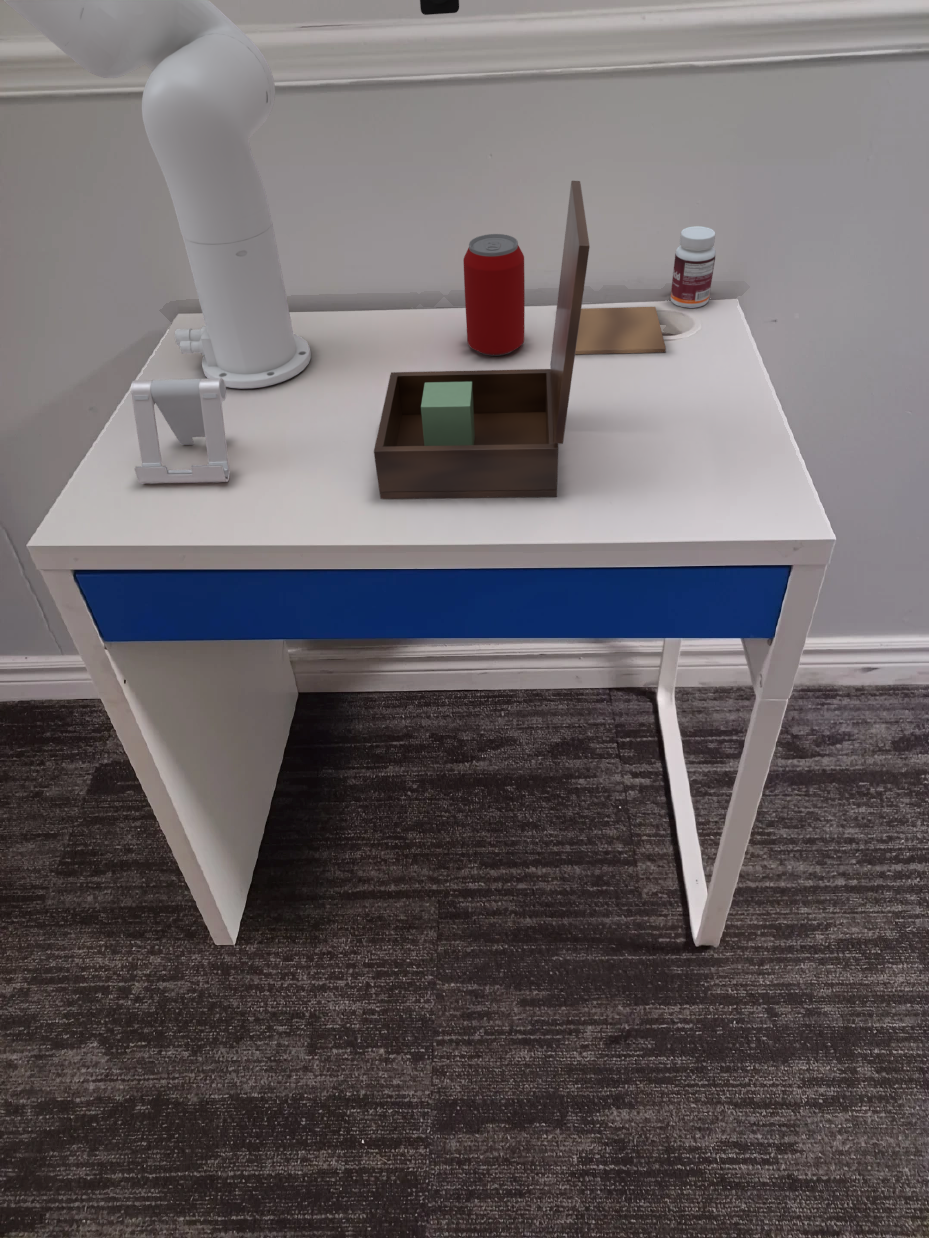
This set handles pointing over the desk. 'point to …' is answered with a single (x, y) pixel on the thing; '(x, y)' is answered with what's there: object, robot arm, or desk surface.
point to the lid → (568, 308)
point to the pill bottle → (693, 267)
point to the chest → (503, 445)
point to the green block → (448, 414)
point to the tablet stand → (181, 427)
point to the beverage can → (494, 294)
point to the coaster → (619, 331)
